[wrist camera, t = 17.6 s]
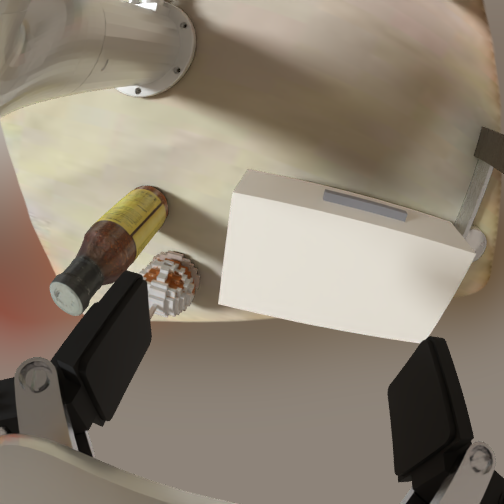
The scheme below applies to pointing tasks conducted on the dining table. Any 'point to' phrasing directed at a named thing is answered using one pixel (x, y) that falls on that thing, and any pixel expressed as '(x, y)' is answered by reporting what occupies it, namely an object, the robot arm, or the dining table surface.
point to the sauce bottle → (110, 248)
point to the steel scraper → (481, 176)
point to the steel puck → (476, 241)
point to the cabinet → (339, 259)
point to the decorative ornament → (170, 283)
